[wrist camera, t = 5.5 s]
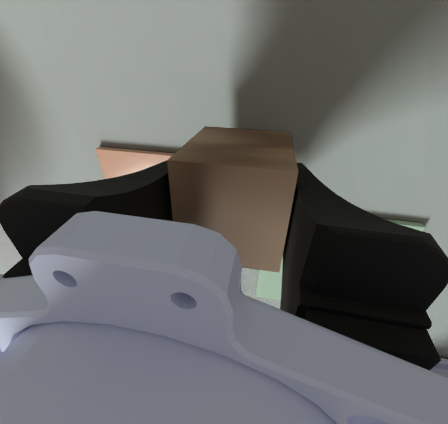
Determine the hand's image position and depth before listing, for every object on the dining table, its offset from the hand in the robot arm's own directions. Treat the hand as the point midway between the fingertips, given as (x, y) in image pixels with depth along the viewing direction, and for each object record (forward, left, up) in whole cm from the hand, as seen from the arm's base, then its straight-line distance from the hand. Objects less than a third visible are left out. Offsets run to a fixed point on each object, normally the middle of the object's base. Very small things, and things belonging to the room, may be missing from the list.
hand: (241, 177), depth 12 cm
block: (0, 0, -1) cm, 1 cm away
